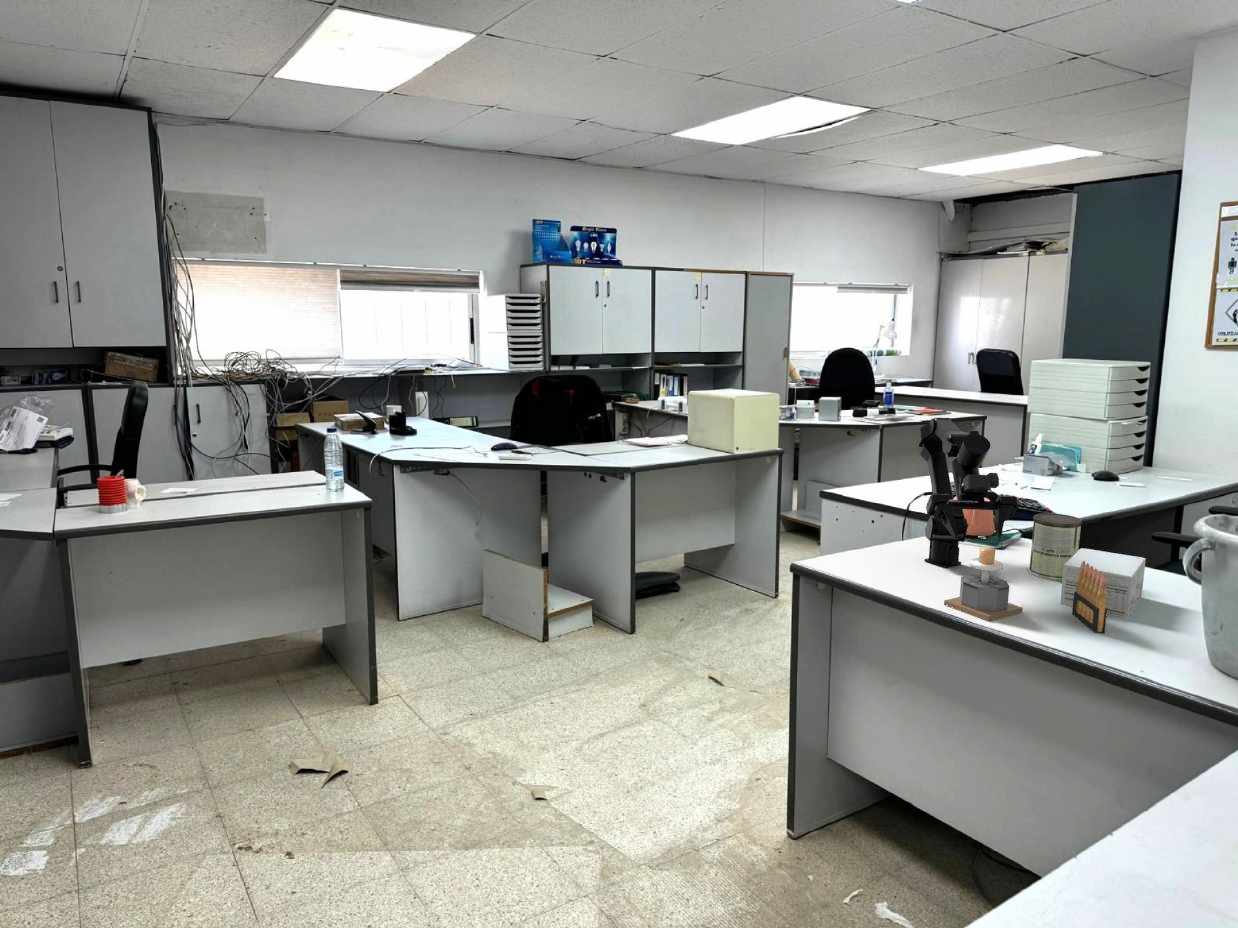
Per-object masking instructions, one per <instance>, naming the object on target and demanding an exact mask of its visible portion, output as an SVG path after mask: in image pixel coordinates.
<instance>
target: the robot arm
mask: <svg viewBox="0 0 1238 928" xmlns="http://www.w3.org/2000/svg"><path fill="white" fill-rule="evenodd" d="M915 443H916V444H915V446H916V447H917V449H918V450H919V452H918V453H919V456H920V457H922V458H923V459H924V460H925V462H926V463H927V465H928V471H929V472H928V473H929V478H930V484H931V490H932V491H931V492H932V494H931V495H929V498H928V500H927V503H926V507H925V510H926V515H927V516H929V519H928V520H927V523H926V525H925V528H924V530H925V532H924V533H925V534H924V537H925V538H926V539H927V540H928V541H929V548H928V549H929V550H928V551H929V553H928V558H924V560H923V561H924V562H926V563H929V564H930V563H931V564H933V565H936V566H938V567H942V568H947V567H951V566H952V567H953V566H957V565H962V561H960V559H959V557H960V547H959V544H960V542H961V543H965V541H966V537H967V535H966V532H967V528H968V523H967V520H966V518H964V513H963V509H966V510H993V515H994V518H993V522H994V527H995V532H994V533H995V536H996V539H997V540H998V541H1000V540H1001V538H1002V533H1003V529H1004V524H1005V521H1008V520H1009V519H1012V518H1013V517H1014V515H1015V514H1016V512H1017V510H1018V509H1019V507H1020V502H1019V499H1018V497H1017V496H1015V495H1009V494H1008V495H1006V494H1004V495H999V494H998V496H997V498H996V500H990V501H985V500H984V498H988V496H989V491H991V490H992V489H997V488H998V487H999V486H1000V477H999V475H998V473H997V472H989V473H987V474H980V469H979V467H981V466H983V464H984V461H985V459H986V457H987V455H988V453H989V452H990V449H991V442H990V441H989V439H988V438H987V437H986V436H984V435H981V434H980V432H979V430H968V432H966V431H962V430H961V429H960V428H959V427H958V426H957V425H956V424H955V423H954V421H953V418H950V417H933V418H931V419H930V421H929V422H928V423H926V424H925V425H923V426H922V427H920V428H919V430H918V432H917V434H916V438H915ZM947 458H950V459H951V458H953V460H952V461H951V464H950V465H951V474H952V476H953V477H952V478H953V484H954V488H953V489H952V484H951V479H950V472H949V467H948V466H949V465H948V462H947ZM953 492H954V494H955V495H956V496H955V497H957V500H953V499H954V494H953Z"/></svg>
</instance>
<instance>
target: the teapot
mask: <svg viewBox="0 0 1238 928" xmlns="http://www.w3.org/2000/svg"><path fill="white" fill-rule="evenodd" d="M953 500H957V497H956V496H953ZM984 500H985V501H991V500H990V499H989V498H988V497H984ZM963 513H964V518H966V520H967V523H968V528H967V532H966V536H977V535H978V536H986V537H987V536H992V535H994V533H995V527H994V522H993V518H994V515H993V510H966V509H963Z"/></svg>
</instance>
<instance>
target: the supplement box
mask: <svg viewBox="0 0 1238 928" xmlns="http://www.w3.org/2000/svg"><path fill="white" fill-rule="evenodd" d="M1146 560H1147V558H1145V557H1141V556H1136V555H1134V556H1133V555H1129V554H1122V553H1114V552H1108V551H1104V550H1103V551H1102V550H1098V549H1097V550H1095V549H1092V548H1083V547H1081V548H1080V549H1078V552H1077V553H1076V554H1075V555H1074V556H1073V557H1072V558H1070V559H1069V560H1068V561H1067V562H1066V563H1065V564H1064V568H1063V577H1062V580H1061V590H1060V591H1061V592H1060V601H1059V604H1060V605H1062V606H1069V607H1073V599H1074V592H1075V591H1076V587H1077V580H1078V576H1079V571H1080V566H1081V563H1082V562H1083V561H1085V564H1087V563H1088V564H1089V567H1091V566H1093V569H1094V570H1095V568H1096V569H1097V571H1098V572H1099V571H1101V573H1102V575H1103V574H1105V575H1106V580H1107V586H1106V594H1107V598H1106V608H1107V615H1112V616H1116V617H1123V618H1126V619H1128V618H1129V617H1130V615H1132V612H1133V610H1134V609H1135V608H1136V606H1137V605H1138V604H1139V601H1140V600H1141V598H1142V597H1143V589H1144V579H1145V578H1144V577H1145V569H1146Z"/></svg>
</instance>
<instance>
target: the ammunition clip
mask: <svg viewBox="0 0 1238 928" xmlns="http://www.w3.org/2000/svg"><path fill="white" fill-rule="evenodd" d="M1106 586H1107V580H1106V575H1105V574H1103V575H1102V573H1101V571H1099V572H1098V571H1097V569H1096V568H1095V570H1094V569H1093V566H1091V567H1089V564H1088V563H1087V564H1085V561H1083V562H1082V563H1081V566H1080V571H1079V576H1078V580H1077V587H1076V591H1075V592H1074V599H1073V607H1072V606H1071V607H1072V609H1071V615H1072V616H1073V617H1074V618H1076V619H1077V620H1078V621H1080V623H1083V625H1085V626H1086V627H1087V629H1090V631H1092V632H1094V633H1095V634H1106V624H1107V615H1108V614H1107V608H1106V598H1107V594H1106Z"/></svg>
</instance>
